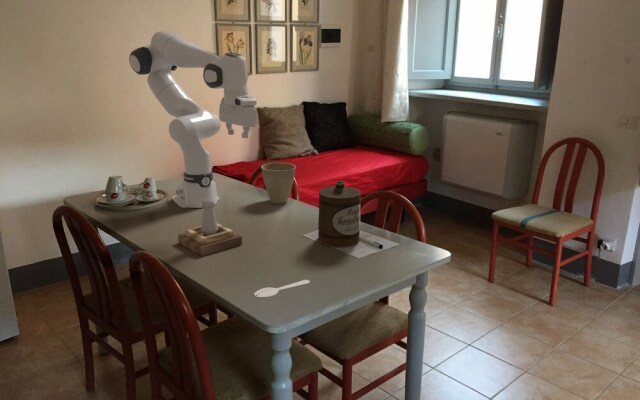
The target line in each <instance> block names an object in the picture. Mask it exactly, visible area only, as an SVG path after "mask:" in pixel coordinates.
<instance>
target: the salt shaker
mask: <svg viewBox="0 0 640 400" xmlns="http://www.w3.org/2000/svg"><path fill="white" fill-rule="evenodd" d="M215 205H216V204H215V203H214V201H213V200H211V199H206V200H203V201H202V208H203V212H202V218H201V219H202V220H201V225H200V226H201V231H202V233H203V235H204V236H205V237H206V236H210V235H213V234H217V231H218V226H217V223H218V222H217V218H216V214H215V211H214V207H215Z"/></svg>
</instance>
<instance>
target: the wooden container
mask: <svg viewBox="0 0 640 400" xmlns="http://www.w3.org/2000/svg"><path fill="white" fill-rule="evenodd" d="M318 194H319V195H318V199H319V202H318V224H317V225H318V228H317V229H318V232H317V235H318V237H317V239H318V241H319V242H320V243H321V244H323V245H325V246H327V247H333V248H346V247H347V246H348V247H352V246H355V245H356V244H358V243H359V241H360V234H361V233H360V230H361V191H360V189H357V188H355V187H350V186H345V182H344V181H343V180H337V181H335V182H334V186H327V187H322V188H321V189H320V190H319V193H318Z"/></svg>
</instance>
